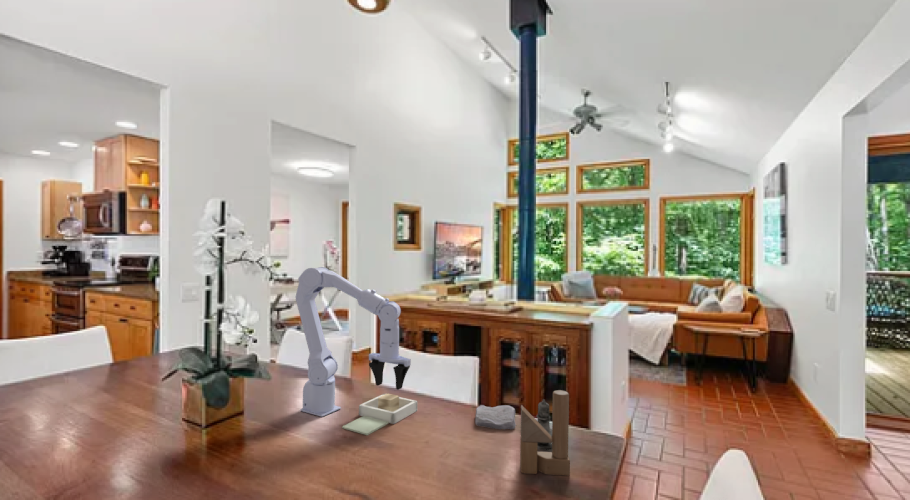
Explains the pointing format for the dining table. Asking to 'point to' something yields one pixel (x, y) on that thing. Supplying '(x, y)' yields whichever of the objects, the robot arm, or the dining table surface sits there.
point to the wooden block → (546, 440)
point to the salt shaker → (544, 423)
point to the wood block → (388, 402)
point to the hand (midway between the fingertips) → (389, 386)
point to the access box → (391, 417)
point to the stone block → (496, 417)
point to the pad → (365, 425)
